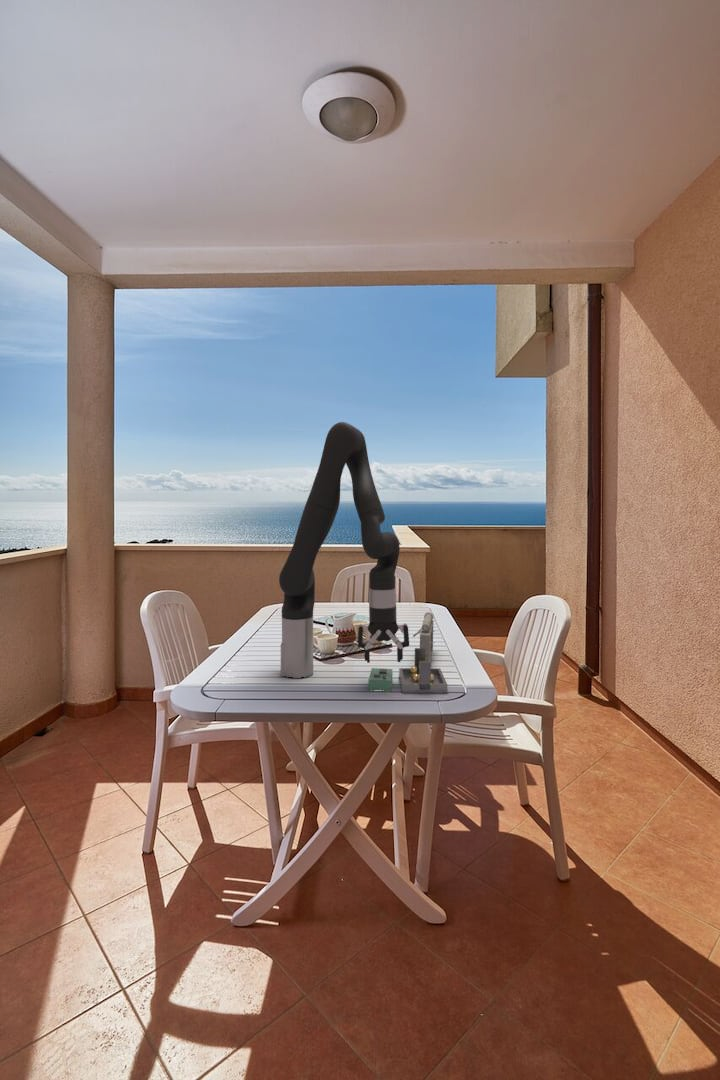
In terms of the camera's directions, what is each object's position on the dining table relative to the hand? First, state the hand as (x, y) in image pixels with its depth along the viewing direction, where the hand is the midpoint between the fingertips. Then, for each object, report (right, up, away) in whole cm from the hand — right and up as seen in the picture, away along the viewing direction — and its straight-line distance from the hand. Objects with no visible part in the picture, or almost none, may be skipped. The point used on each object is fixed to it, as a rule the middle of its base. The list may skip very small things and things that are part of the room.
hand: (383, 661), depth 140 cm
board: (-1, -7, 0) cm, 7 cm away
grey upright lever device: (+15, -5, +26) cm, 30 cm away
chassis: (+11, -7, 0) cm, 13 cm away
